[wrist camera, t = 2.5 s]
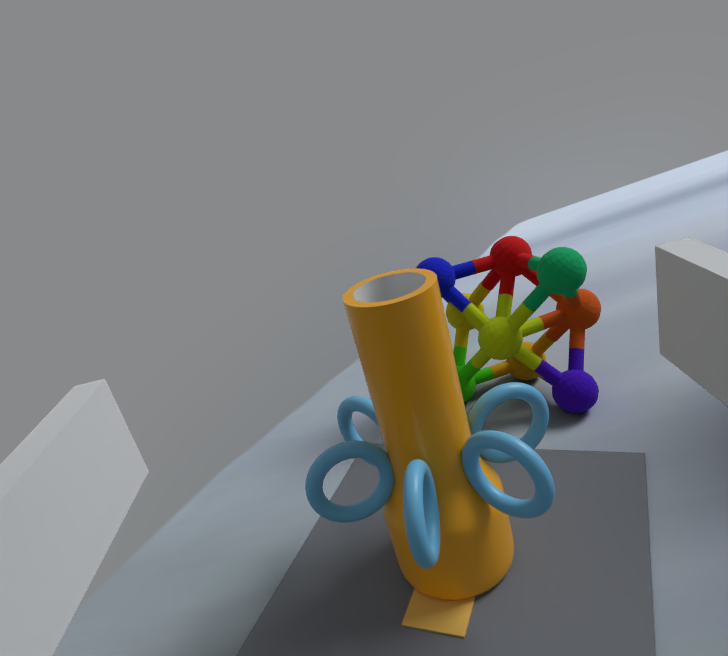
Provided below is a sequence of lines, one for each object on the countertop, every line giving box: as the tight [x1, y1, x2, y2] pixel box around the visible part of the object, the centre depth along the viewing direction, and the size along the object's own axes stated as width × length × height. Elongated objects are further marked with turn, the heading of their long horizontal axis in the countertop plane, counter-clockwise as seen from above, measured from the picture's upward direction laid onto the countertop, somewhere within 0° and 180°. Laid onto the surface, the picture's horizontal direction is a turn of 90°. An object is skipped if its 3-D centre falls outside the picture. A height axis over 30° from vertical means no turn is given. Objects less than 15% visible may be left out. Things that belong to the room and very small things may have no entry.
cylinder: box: [305, 268, 555, 600], centre depth 26 cm, size 12×10×15 cm
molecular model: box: [417, 236, 601, 413], centre depth 39 cm, size 12×7×12 cm, turn 59°
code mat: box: [236, 443, 656, 656], centre depth 29 cm, size 18×18×1 cm
